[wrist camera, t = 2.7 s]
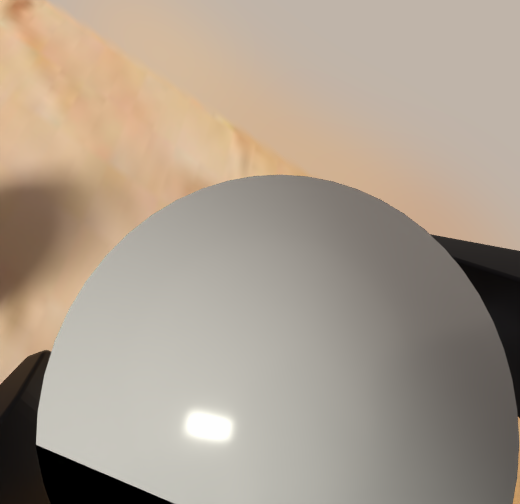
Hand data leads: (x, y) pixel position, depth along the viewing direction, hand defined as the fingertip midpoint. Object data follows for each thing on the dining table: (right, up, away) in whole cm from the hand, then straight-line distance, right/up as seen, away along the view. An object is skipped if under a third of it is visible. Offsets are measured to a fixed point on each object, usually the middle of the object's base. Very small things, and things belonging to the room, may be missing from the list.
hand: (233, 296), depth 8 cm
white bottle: (0, -3, +6) cm, 7 cm away
